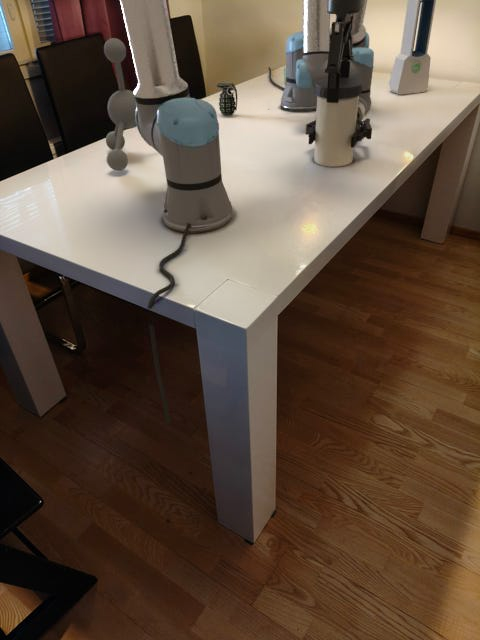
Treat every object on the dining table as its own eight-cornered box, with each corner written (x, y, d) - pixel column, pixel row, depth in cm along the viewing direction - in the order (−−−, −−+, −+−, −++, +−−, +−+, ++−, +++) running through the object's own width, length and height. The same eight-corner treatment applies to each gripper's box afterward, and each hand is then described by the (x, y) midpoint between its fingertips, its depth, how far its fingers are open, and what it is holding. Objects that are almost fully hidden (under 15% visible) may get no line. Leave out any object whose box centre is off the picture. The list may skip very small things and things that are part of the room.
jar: (324, 150, 137) (329, 79, 126) (358, 156, 132) (366, 82, 121) (307, 162, 130) (309, 88, 119) (342, 169, 126) (348, 92, 114)
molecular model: (191, 162, 134) (177, 38, 116) (111, 177, 129) (83, 48, 110) (169, 138, 152) (153, 27, 134) (98, 150, 146) (72, 36, 128)
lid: (359, 99, 115) (360, 88, 114) (311, 98, 118) (311, 87, 117) (363, 87, 124) (364, 77, 123) (318, 87, 127) (318, 77, 125)
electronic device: (397, 95, 179) (411, -2, 161) (387, 90, 185) (399, -4, 166) (427, 91, 181) (444, -5, 163) (416, 87, 187) (431, -7, 169)
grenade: (217, 117, 168) (214, 86, 162) (221, 112, 172) (219, 82, 166) (235, 117, 166) (233, 86, 160) (239, 113, 171) (238, 82, 165)
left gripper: (352, -3, 98) (343, 109, 111) (370, -14, 116) (360, 84, 129) (315, -2, 100) (311, 108, 114) (338, -13, 118) (332, 83, 131)
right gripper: (388, 132, 139) (374, 159, 123) (310, 127, 146) (288, 151, 130) (391, 104, 134) (378, 128, 118) (311, 100, 142) (288, 122, 126)
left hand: (337, 95), depth 121 cm, fingers open, 12 cm apart
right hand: (331, 140), depth 124 cm, fingers closed on jar, 10 cm apart
